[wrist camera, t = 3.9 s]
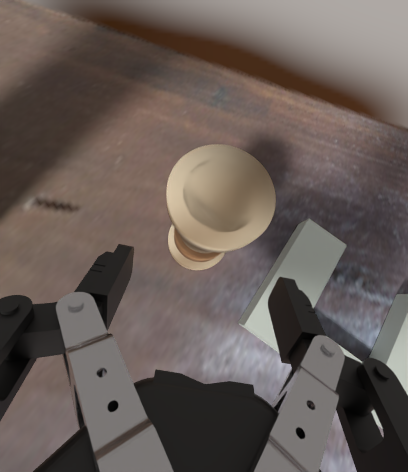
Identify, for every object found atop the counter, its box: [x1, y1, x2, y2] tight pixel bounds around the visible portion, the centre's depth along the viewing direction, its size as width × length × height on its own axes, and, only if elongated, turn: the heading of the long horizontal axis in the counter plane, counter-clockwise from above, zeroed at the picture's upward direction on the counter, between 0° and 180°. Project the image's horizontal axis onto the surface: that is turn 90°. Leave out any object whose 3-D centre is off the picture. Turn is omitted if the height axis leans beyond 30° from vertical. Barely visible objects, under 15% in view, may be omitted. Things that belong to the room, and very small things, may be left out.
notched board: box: [238, 219, 408, 429], centre depth 23 cm, size 17×12×2 cm
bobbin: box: [167, 144, 276, 271], centre depth 18 cm, size 6×6×12 cm
